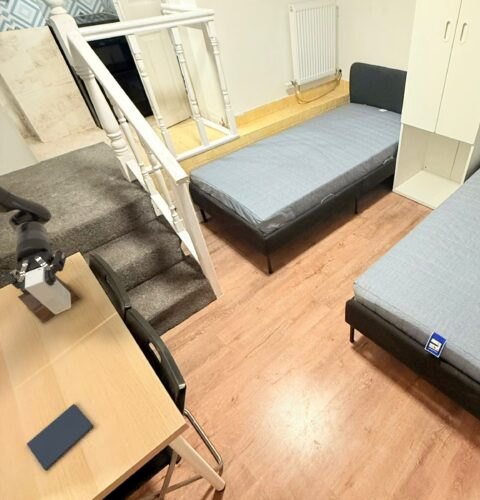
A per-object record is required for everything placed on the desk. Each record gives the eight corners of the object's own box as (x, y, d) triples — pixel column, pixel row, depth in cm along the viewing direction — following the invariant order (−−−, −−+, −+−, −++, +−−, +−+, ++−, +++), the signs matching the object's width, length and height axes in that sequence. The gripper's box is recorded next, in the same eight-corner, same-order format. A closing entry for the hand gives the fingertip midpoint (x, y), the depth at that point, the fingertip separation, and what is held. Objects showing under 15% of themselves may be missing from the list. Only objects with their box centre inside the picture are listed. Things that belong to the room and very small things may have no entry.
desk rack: (43, 322, 102) (33, 313, 99) (27, 306, 107) (17, 296, 104) (79, 298, 109) (71, 288, 105) (63, 283, 114) (54, 274, 110)
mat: (46, 470, 74) (44, 469, 74) (28, 444, 78) (26, 443, 78) (93, 426, 80) (92, 425, 80) (75, 404, 84) (73, 403, 84)
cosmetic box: (54, 299, 94) (24, 272, 85) (70, 293, 95) (43, 265, 86) (54, 315, 90) (23, 288, 81) (71, 308, 91) (43, 281, 82)
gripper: (-7, 251, 88) (-6, 293, 78) (54, 228, 93) (61, 264, 83) (14, 269, 93) (16, 310, 83) (69, 246, 99) (78, 283, 89)
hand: (39, 287), depth 83 cm, fingers closed on cosmetic box, 4 cm apart
